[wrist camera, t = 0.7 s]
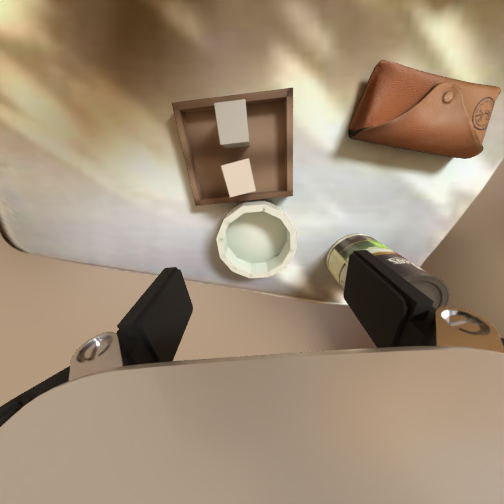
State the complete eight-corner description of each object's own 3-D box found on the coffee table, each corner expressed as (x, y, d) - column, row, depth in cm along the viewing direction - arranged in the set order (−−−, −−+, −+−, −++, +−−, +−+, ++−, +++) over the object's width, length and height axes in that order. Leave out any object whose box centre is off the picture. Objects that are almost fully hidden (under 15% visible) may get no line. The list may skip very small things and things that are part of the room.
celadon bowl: (215, 203, 31) (210, 209, 27) (291, 196, 30) (296, 201, 26) (227, 267, 37) (224, 280, 33) (291, 262, 36) (295, 274, 32)
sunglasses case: (510, 83, 23) (542, 113, 20) (449, 138, 29) (467, 166, 26) (375, 56, 22) (389, 84, 19) (342, 119, 28) (349, 147, 25)
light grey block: (222, 115, 25) (214, 102, 20) (246, 112, 25) (245, 99, 20) (226, 148, 27) (220, 144, 22) (249, 145, 27) (249, 141, 22)
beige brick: (227, 165, 28) (220, 165, 23) (249, 159, 28) (248, 158, 22) (234, 191, 30) (230, 197, 24) (255, 185, 29) (255, 190, 24)
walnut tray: (178, 107, 25) (171, 102, 23) (289, 93, 24) (293, 87, 23) (199, 202, 31) (195, 205, 29) (289, 193, 30) (292, 195, 28)
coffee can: (349, 223, 33) (411, 261, 20) (390, 247, 35) (468, 296, 22) (314, 266, 37) (347, 320, 24) (353, 285, 39) (401, 344, 26)
